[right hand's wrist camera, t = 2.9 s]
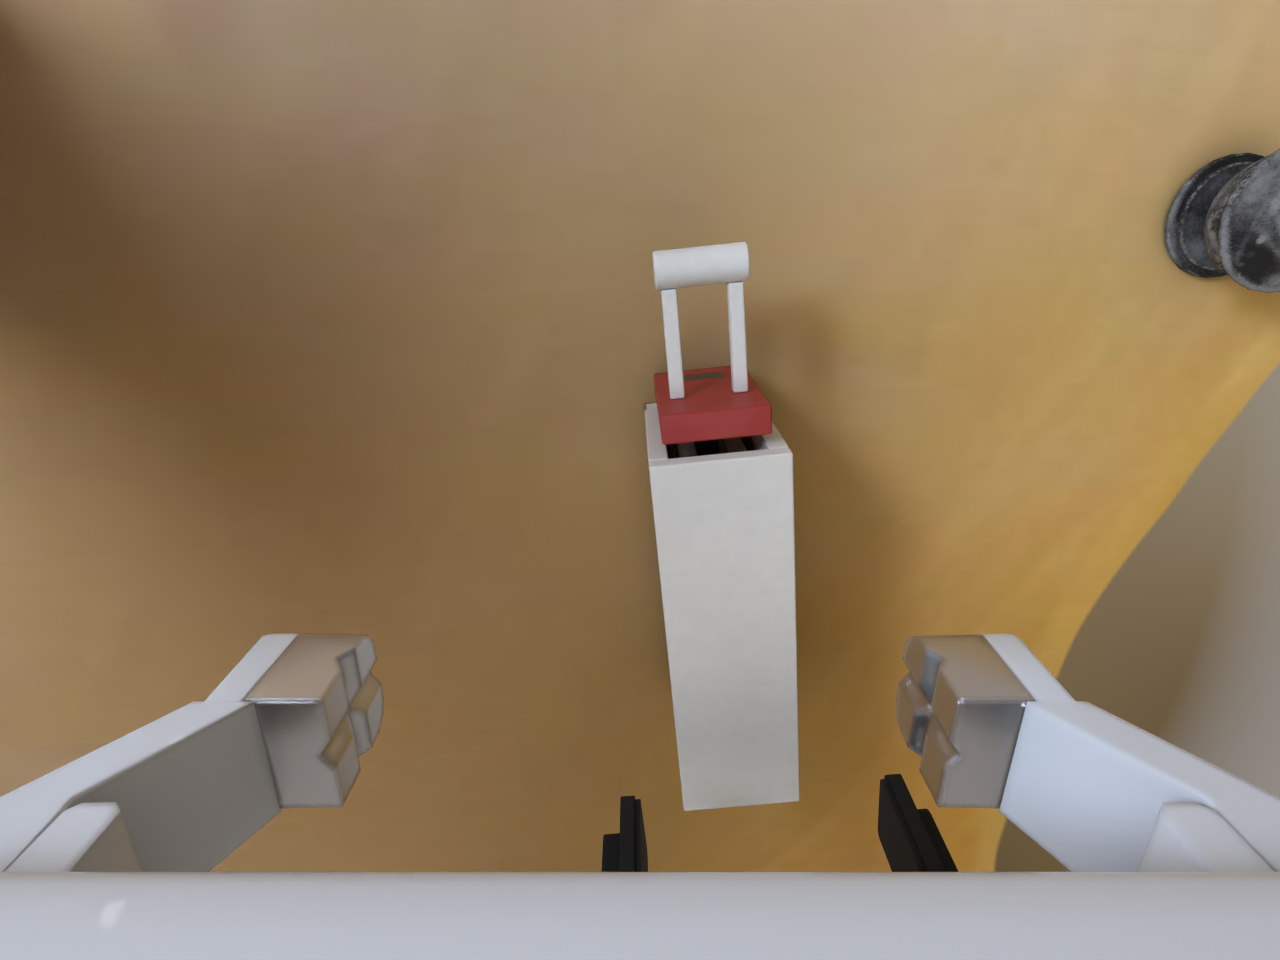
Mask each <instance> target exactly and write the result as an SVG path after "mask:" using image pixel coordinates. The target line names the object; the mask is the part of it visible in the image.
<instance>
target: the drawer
mask: <svg viewBox="0 0 1280 960" xmlns="http://www.w3.org/2000/svg"><path fill="white" fill-rule="evenodd" d="M652 257H653V270H654V280H655V288H656V290H661V300H662V311H663V323H664V334H665V346H666V358H667V369H668V372H666V373H656V374H654V385H655V395H656V403H657V410H658V417H659V425H660V432H661V439H662V444H663V445H667V444H674V447H675V458H683V457H693V456H703V455H713V454H723V453H733V452H743V451H747V450H746V447H745V445H744V443H743V441H742V439H741V437H747V436H757V435H767V434H772V411H771V405H770V403H769V402H768V400H767V399H766V397H765V396H764V395H763V393H762V392H761V390H760V389H759V388H758V386H757V385H756V383H755V382H754V381H753V379H752V378H751V376H750V375H749V374H748V372H747V352H746V328H745V305H744V283H743V282H742V281H746V280H748V278H749V273H750V260H749V251H748V246H747V244H746V242H737V243H728V244H718V245H709V246H699V247H690V248H681V249H671V250H662V251H654V252H653V253H652ZM719 283H727V302H728V321H729V340H730V360H731V366H725V367H715V368H706V369H696V370H686V371H683V366H682V353H681V340H680V327H679V314H678V302H677V290H676V288H681V287H691V286H700V285H710V284H719Z"/></svg>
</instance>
